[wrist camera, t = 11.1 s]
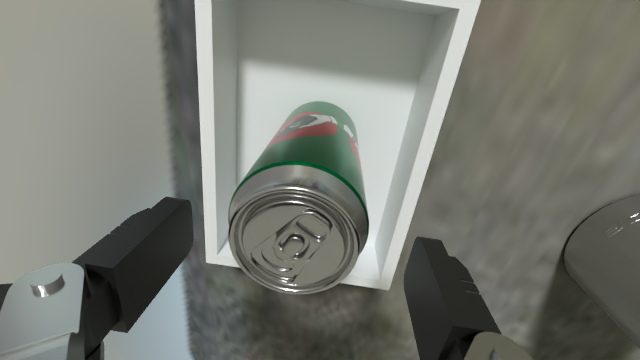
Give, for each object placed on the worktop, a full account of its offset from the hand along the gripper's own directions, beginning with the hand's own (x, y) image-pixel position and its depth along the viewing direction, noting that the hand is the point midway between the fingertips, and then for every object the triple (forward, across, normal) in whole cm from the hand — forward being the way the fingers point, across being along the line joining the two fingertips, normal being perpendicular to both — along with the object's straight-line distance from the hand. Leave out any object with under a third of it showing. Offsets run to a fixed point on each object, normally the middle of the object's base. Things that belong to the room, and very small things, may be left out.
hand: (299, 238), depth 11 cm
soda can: (+11, 0, 0) cm, 11 cm away
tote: (+12, 0, 0) cm, 12 cm away
